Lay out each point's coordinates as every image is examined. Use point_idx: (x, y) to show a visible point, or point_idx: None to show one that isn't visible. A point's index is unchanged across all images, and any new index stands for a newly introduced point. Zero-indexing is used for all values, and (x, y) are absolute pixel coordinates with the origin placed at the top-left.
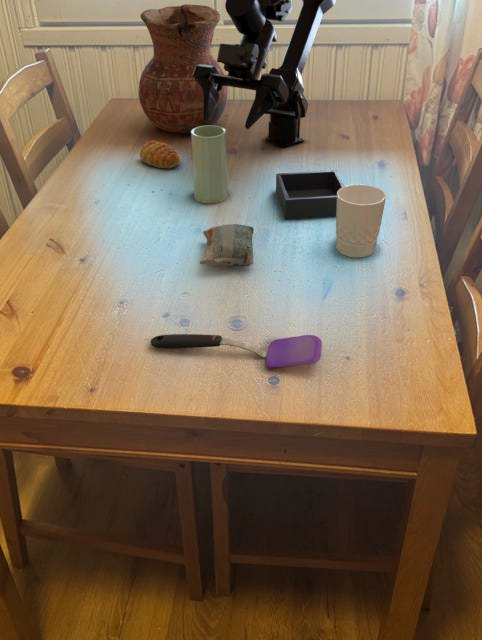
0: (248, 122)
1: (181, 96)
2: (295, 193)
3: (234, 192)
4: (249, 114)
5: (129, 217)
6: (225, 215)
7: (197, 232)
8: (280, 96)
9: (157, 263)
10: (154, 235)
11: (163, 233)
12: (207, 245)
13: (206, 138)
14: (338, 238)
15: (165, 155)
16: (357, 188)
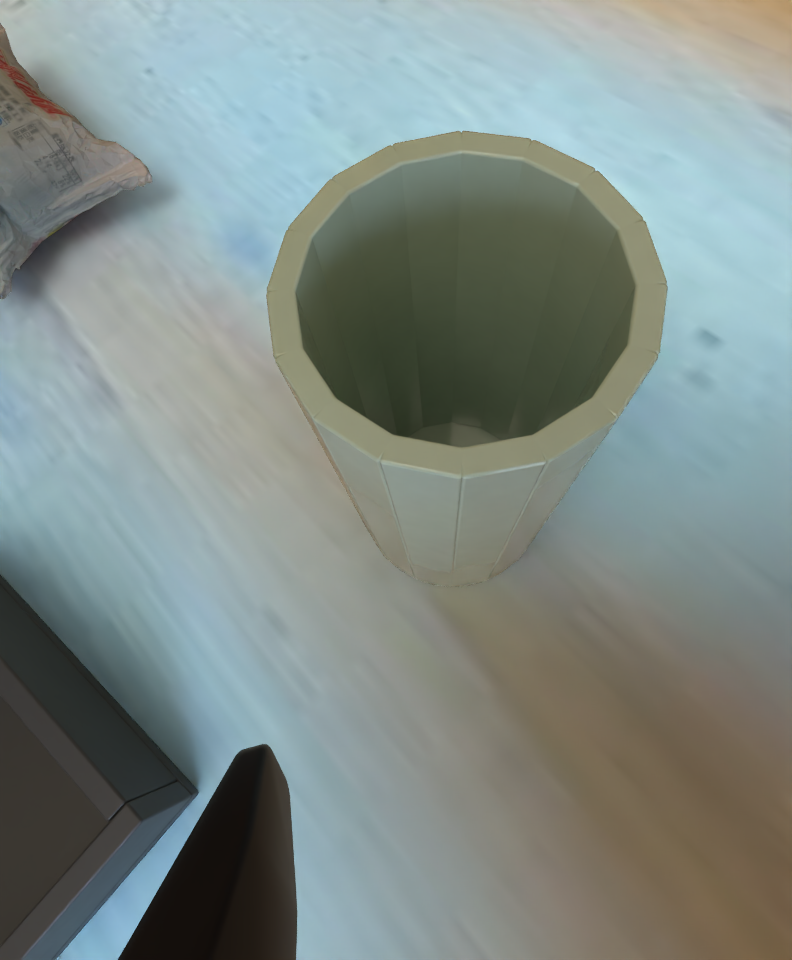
0: (213, 794)
1: None
2: (66, 838)
3: (390, 625)
4: (205, 901)
5: (555, 134)
6: (248, 407)
7: (241, 234)
8: None
9: (203, 33)
10: (357, 120)
11: (342, 148)
12: (19, 69)
13: (343, 177)
14: None
15: None
16: None
